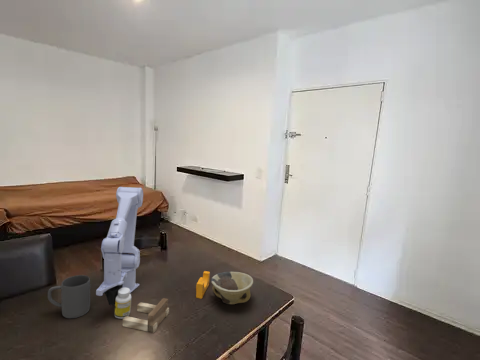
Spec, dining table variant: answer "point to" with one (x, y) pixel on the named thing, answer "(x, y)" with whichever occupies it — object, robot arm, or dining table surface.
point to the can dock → (154, 316)
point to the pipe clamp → (202, 284)
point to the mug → (73, 296)
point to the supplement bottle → (123, 303)
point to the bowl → (232, 286)
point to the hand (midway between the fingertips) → (112, 304)
